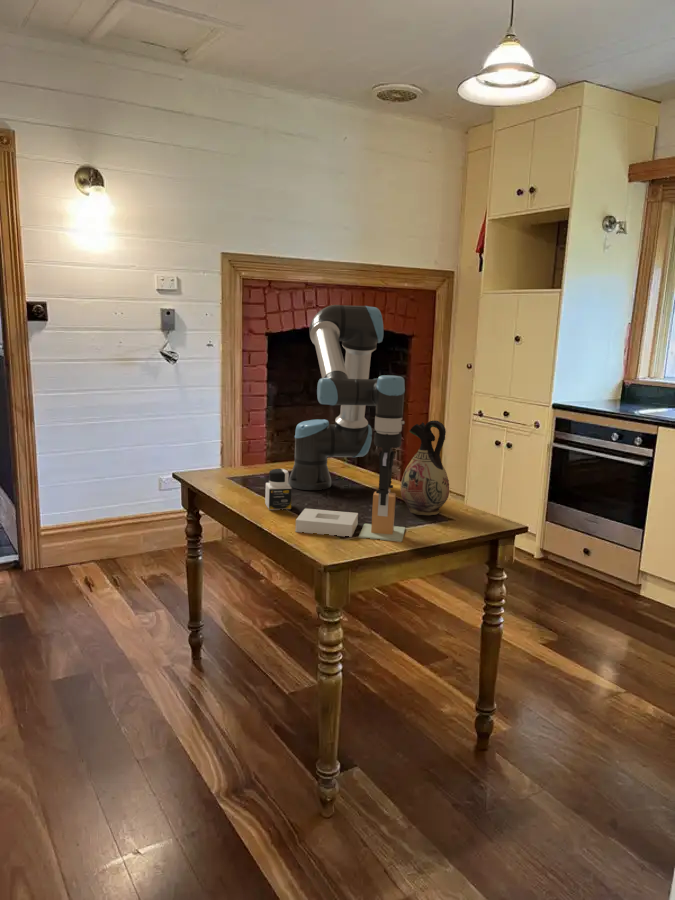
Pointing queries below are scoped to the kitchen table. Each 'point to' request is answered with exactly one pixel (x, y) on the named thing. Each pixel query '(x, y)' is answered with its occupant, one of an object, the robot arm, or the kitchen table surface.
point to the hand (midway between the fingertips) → (383, 513)
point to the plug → (383, 522)
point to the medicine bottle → (278, 490)
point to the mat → (395, 536)
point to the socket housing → (327, 522)
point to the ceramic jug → (426, 473)
